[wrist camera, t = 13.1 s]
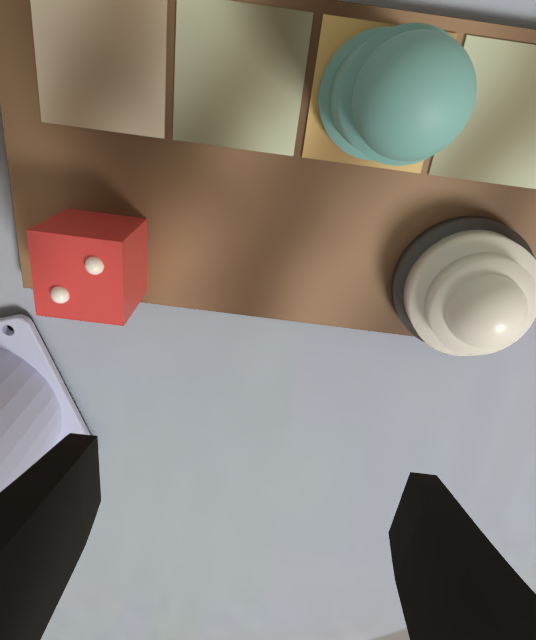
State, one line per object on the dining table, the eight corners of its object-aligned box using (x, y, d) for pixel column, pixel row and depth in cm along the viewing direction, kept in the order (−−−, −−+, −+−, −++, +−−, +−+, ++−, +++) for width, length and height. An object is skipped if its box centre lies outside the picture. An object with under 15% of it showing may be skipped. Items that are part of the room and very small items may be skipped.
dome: (390, 335, 18) (410, 379, 15) (422, 221, 16) (451, 248, 13) (503, 349, 18) (543, 395, 15) (549, 238, 16) (604, 269, 13)
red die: (72, 282, 18) (32, 318, 15) (66, 208, 17) (21, 232, 14) (146, 291, 18) (120, 330, 15) (147, 218, 17) (118, 245, 14)
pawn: (328, 169, 16) (352, 208, 11) (308, 47, 14) (323, 19, 9) (439, 143, 15) (521, 171, 10) (431, 14, 14) (524, -36, 8)
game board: (33, 280, 19) (14, 294, 18) (-5, -45, 14) (-35, -59, 13) (496, 338, 20) (512, 356, 18) (613, 45, 15) (646, 41, 14)
